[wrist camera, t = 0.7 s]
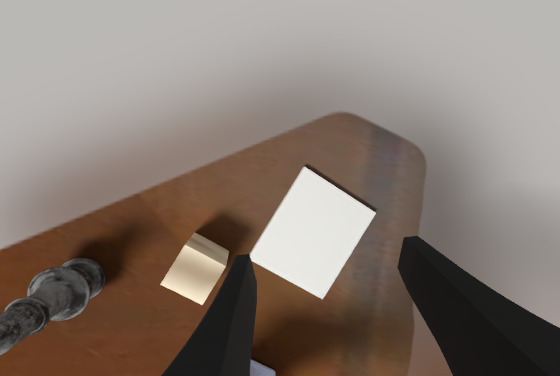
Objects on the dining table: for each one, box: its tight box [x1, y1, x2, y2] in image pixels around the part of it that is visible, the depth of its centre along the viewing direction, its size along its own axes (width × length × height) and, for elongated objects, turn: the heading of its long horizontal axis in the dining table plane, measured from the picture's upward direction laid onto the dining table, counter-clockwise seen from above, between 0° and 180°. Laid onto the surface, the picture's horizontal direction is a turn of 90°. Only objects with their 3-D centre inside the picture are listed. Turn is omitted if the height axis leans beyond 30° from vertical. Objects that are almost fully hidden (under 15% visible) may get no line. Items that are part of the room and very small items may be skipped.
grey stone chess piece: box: [0, 258, 105, 355], centre depth 23 cm, size 6×6×12 cm
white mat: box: [250, 167, 376, 299], centre depth 32 cm, size 14×12×1 cm
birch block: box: [160, 233, 229, 305], centre depth 28 cm, size 5×5×5 cm
